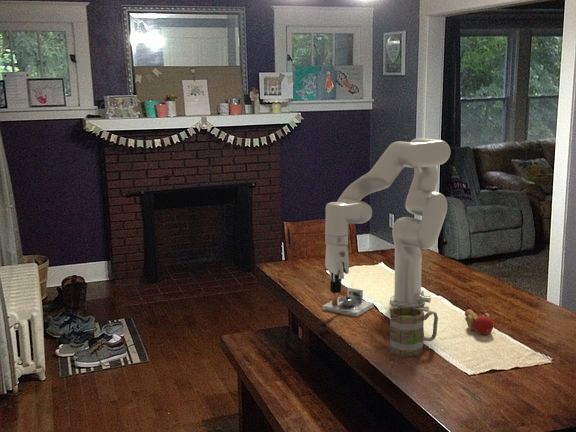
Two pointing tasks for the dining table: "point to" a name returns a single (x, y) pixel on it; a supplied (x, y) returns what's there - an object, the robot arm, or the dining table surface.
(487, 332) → the kendama
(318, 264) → the dining table surface
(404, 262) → the robot arm
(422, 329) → the mug
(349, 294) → the stand
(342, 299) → the crank
